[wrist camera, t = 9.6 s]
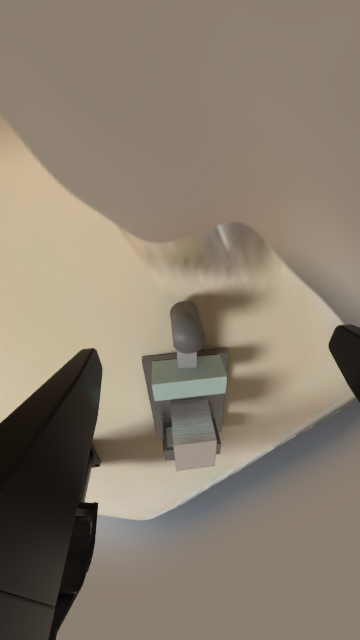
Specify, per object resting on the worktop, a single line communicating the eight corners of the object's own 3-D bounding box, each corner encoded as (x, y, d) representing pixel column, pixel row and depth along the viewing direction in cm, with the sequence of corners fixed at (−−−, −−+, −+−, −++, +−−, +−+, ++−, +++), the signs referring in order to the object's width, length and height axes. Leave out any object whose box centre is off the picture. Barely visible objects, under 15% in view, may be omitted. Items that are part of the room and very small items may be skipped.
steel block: (203, 410, 29) (214, 465, 24) (172, 414, 29) (176, 471, 24) (203, 384, 26) (216, 440, 21) (169, 388, 26) (173, 445, 21)
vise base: (219, 426, 33) (227, 455, 30) (157, 434, 33) (158, 464, 29) (226, 347, 25) (237, 375, 21) (142, 356, 24) (140, 386, 21)
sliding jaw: (218, 372, 25) (228, 404, 22) (154, 379, 25) (155, 413, 21) (222, 297, 20) (237, 323, 17) (142, 304, 20) (139, 333, 16)
